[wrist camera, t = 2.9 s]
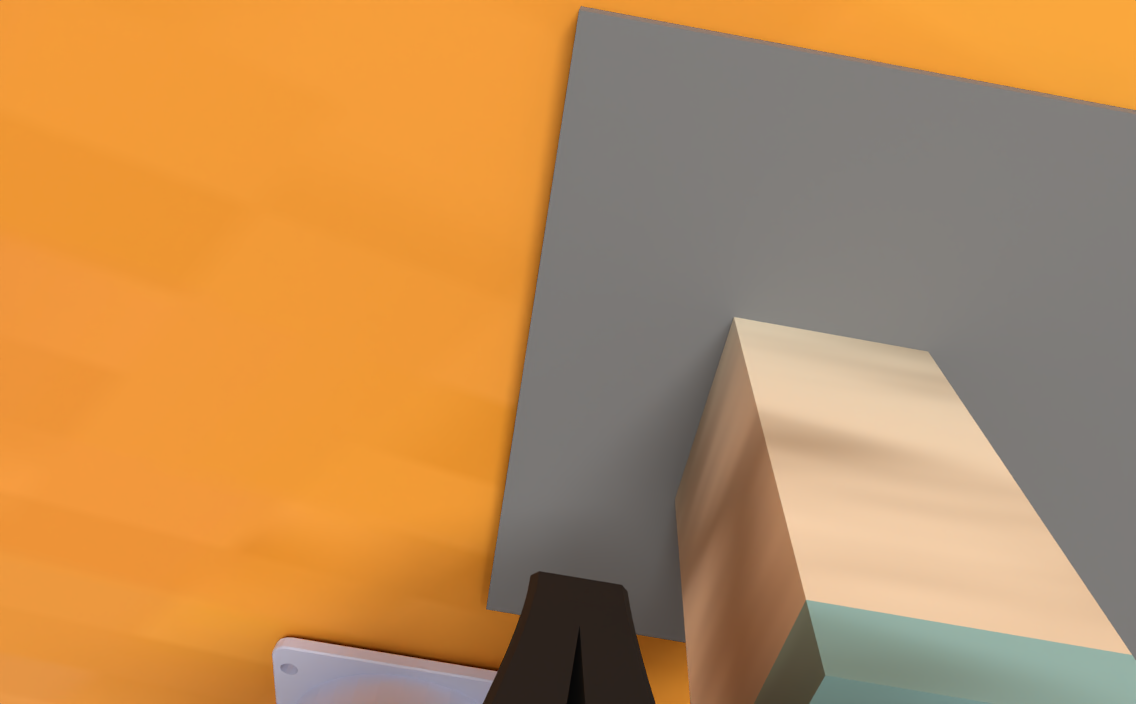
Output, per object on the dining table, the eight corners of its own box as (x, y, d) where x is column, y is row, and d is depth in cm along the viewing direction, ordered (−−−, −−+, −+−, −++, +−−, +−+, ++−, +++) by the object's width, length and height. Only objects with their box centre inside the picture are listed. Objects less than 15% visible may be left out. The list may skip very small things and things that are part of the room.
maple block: (839, 527, 17) (976, 929, 11) (675, 499, 17) (704, 887, 10) (928, 352, 15) (1186, 735, 8) (733, 317, 15) (825, 675, 8)
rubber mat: (1118, 700, 21) (1128, 717, 20) (489, 594, 20) (486, 608, 20) (1595, 196, 13) (1628, 206, 12) (581, 6, 12) (579, 9, 12)
